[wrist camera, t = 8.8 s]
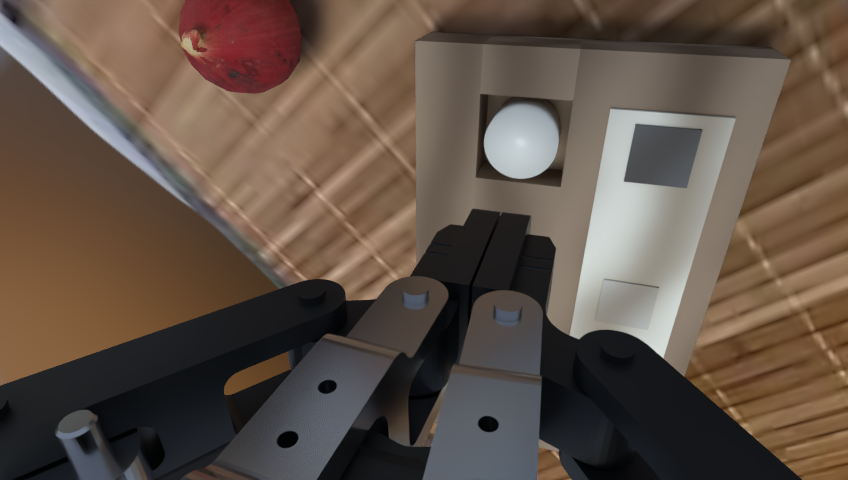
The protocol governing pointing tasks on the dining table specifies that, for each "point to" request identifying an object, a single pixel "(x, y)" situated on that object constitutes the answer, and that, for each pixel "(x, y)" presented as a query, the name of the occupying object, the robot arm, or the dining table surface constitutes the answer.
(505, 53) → the button board
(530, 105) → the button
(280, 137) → the dining table surface
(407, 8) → the dining table surface
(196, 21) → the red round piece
